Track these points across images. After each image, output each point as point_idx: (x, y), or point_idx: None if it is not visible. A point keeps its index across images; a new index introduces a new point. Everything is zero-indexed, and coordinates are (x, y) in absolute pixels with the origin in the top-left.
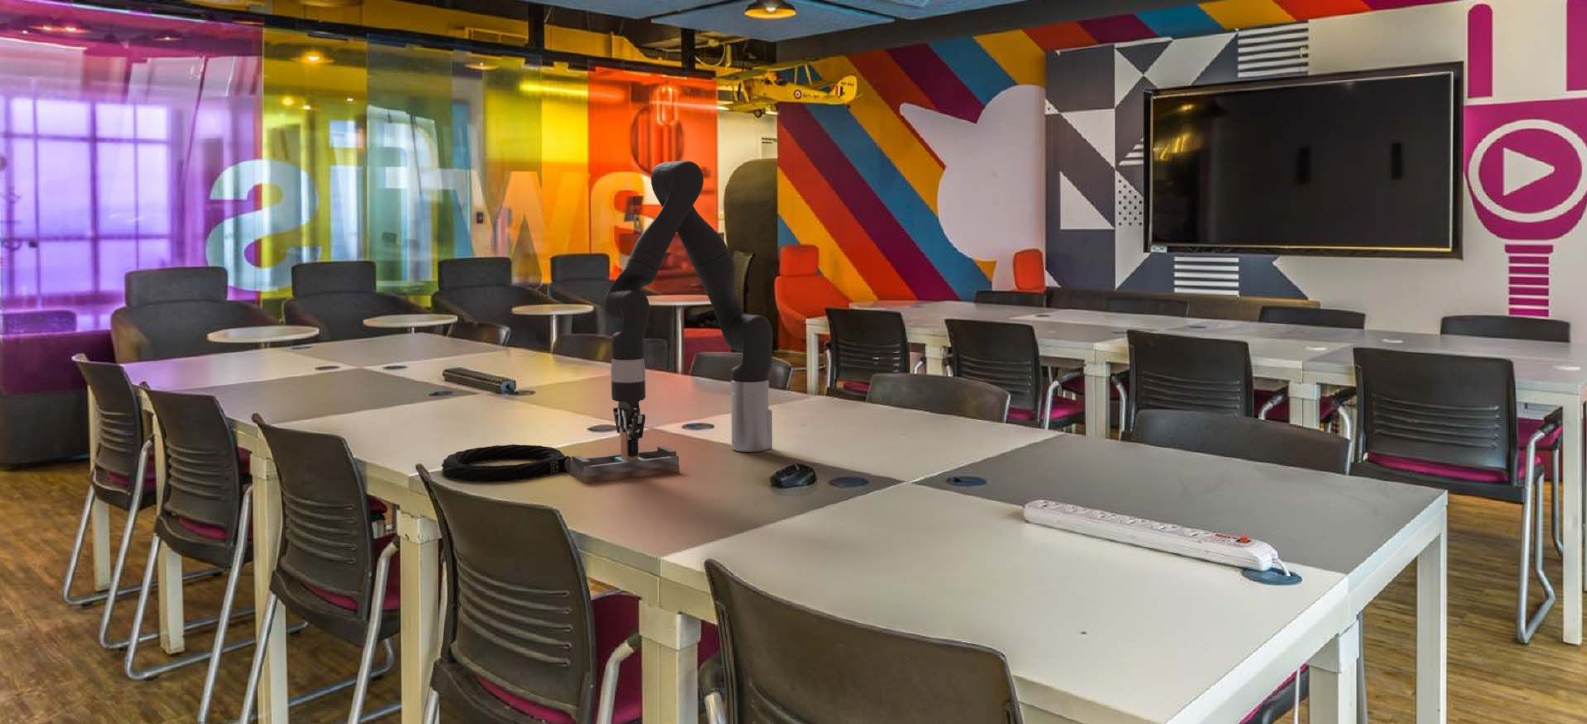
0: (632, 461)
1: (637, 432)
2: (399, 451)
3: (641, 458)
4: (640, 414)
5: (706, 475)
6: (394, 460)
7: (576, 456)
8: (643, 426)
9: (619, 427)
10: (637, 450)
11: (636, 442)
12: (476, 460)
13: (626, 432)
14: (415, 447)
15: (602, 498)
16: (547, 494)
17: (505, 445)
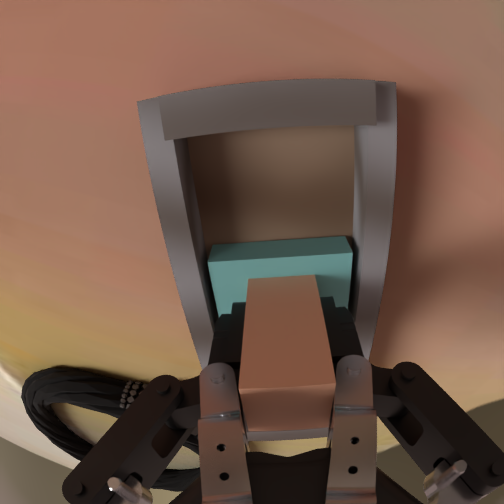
0: (370, 317)
1: (371, 397)
2: (26, 441)
3: (305, 259)
4: (482, 496)
5: (468, 30)
6: (69, 461)
7: (252, 437)
8: (469, 419)
9: (184, 434)
10: (352, 319)
11: (360, 355)
12: (79, 439)
13: (282, 419)
14: (4, 425)
15: (479, 369)
16: (381, 431)
17: (37, 424)
